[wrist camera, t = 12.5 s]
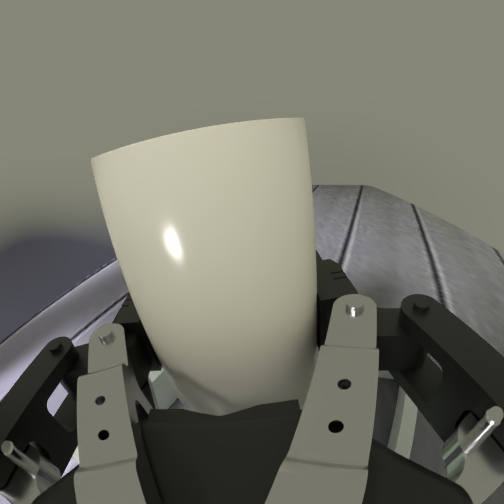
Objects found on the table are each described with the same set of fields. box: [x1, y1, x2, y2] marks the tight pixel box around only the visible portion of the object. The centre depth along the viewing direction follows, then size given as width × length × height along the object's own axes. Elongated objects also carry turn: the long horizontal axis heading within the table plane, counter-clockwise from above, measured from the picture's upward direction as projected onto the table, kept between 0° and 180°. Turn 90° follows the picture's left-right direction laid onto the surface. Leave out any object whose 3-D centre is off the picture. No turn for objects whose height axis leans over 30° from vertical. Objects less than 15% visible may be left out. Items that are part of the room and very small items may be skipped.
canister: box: [91, 118, 317, 416], centre depth 10 cm, size 6×6×14 cm
